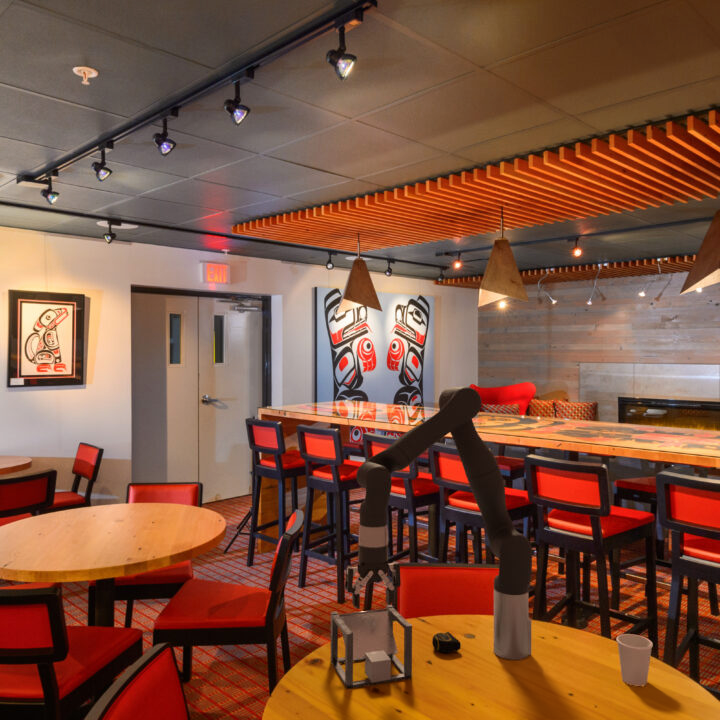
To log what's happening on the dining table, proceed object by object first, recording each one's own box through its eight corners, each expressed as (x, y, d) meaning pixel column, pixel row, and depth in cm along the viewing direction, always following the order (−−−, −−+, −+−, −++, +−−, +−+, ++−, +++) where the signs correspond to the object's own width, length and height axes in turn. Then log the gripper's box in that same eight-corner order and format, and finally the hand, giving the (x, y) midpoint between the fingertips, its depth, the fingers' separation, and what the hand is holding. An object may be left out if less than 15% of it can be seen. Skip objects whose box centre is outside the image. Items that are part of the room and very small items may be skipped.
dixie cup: (616, 685, 155) (617, 644, 155) (615, 670, 163) (615, 631, 163) (654, 692, 152) (654, 650, 152) (651, 676, 160) (651, 636, 160)
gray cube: (383, 650, 160) (390, 659, 155) (383, 669, 160) (390, 679, 155) (365, 653, 159) (371, 662, 154) (364, 672, 159) (371, 682, 154)
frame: (390, 653, 171) (391, 604, 172) (411, 678, 158) (412, 625, 158) (330, 662, 166) (330, 612, 166) (346, 689, 152) (347, 634, 152)
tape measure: (461, 653, 172) (461, 640, 172) (438, 657, 170) (438, 643, 170) (450, 643, 178) (450, 630, 178) (428, 646, 176) (428, 632, 176)
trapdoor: (385, 609, 170) (386, 607, 169) (397, 653, 162) (398, 652, 161) (338, 615, 166) (339, 613, 165) (348, 661, 158) (348, 659, 157)
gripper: (393, 536, 166) (393, 597, 166) (342, 540, 162) (341, 603, 162) (404, 543, 159) (404, 608, 159) (351, 548, 155) (350, 614, 155)
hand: (372, 605), depth 160 cm, fingers open, 8 cm apart
